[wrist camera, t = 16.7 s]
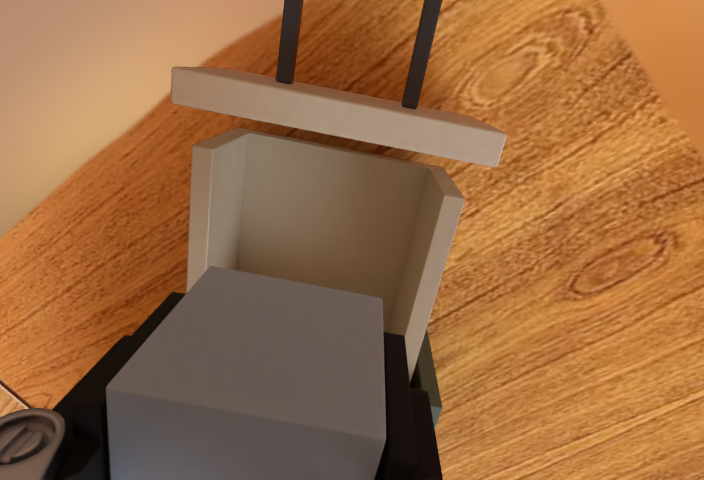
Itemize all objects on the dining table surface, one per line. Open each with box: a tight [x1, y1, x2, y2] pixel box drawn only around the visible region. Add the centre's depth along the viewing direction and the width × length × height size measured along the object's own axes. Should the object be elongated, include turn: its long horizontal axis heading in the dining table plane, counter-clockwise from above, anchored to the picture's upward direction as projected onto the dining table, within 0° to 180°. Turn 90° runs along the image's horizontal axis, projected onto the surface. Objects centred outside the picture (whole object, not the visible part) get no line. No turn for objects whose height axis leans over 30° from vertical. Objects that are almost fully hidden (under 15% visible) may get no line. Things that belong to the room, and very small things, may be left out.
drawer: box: [171, 0, 507, 382], centre depth 18 cm, size 21×11×6 cm, turn 170°
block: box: [106, 266, 386, 480], centre depth 9 cm, size 4×4×4 cm
